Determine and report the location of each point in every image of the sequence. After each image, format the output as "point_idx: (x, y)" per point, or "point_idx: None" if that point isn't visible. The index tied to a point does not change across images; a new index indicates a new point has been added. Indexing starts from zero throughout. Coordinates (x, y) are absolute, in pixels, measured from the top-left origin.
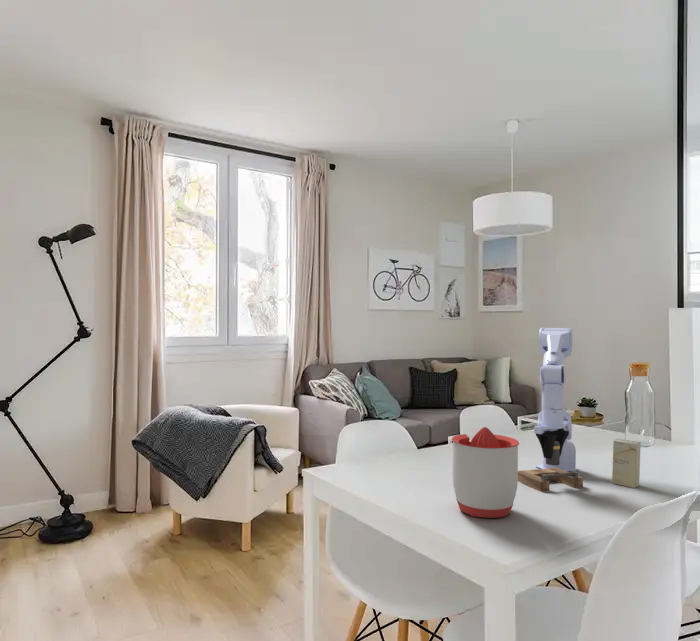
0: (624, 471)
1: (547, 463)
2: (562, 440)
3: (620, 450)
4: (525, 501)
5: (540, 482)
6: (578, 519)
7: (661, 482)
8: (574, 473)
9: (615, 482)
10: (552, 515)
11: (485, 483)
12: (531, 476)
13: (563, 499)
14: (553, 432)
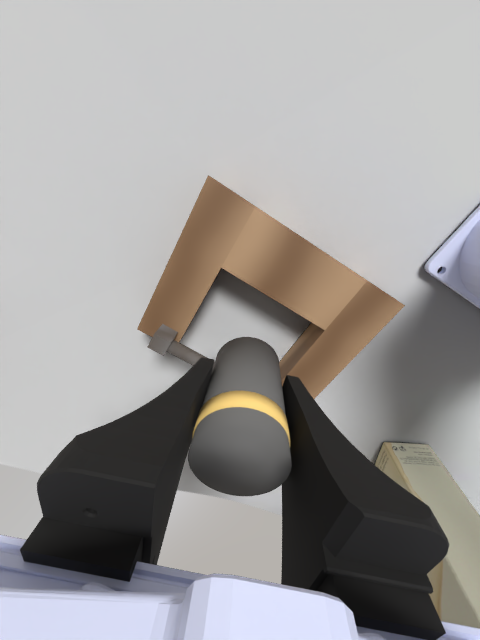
0: None
1: (217, 354)
2: (282, 519)
3: (444, 595)
4: (28, 318)
5: (140, 329)
6: (39, 437)
7: None
8: None
9: (382, 451)
10: (8, 398)
11: None
12: (179, 277)
13: (135, 385)
14: (317, 538)
